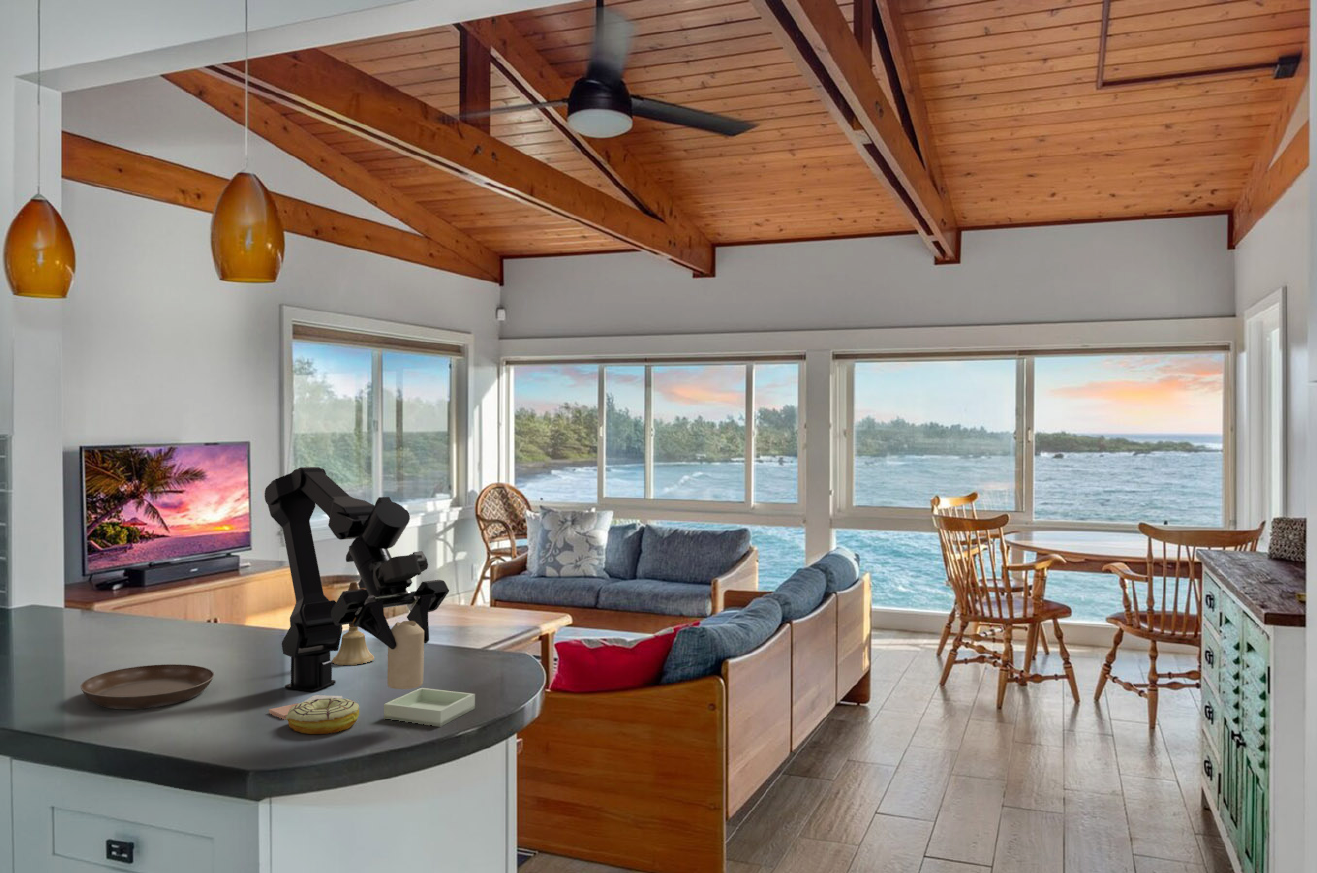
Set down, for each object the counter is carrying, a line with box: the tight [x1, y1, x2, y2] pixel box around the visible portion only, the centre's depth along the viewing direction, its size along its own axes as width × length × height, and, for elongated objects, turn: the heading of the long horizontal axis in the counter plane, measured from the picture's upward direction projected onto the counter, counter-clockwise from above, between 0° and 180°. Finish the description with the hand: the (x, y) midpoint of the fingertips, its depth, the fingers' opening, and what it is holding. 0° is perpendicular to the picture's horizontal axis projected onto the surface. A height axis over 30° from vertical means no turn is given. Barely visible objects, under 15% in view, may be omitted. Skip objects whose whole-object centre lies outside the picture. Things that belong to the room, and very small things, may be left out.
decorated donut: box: [286, 698, 360, 735], centre depth 151 cm, size 10×11×4 cm
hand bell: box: [331, 581, 375, 666], centre depth 193 cm, size 8×8×16 cm
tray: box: [383, 687, 476, 728], centre depth 158 cm, size 11×11×2 cm
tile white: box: [301, 694, 343, 703], centre depth 163 cm, size 5×5×1 cm
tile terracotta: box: [268, 703, 300, 721], centre depth 157 cm, size 5×5×1 cm
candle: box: [386, 620, 425, 690], centre depth 151 cm, size 6×6×10 cm
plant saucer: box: [80, 663, 215, 710], centre depth 167 cm, size 21×21×3 cm
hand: (410, 644), depth 150 cm, fingers closed on candle, 5 cm apart
